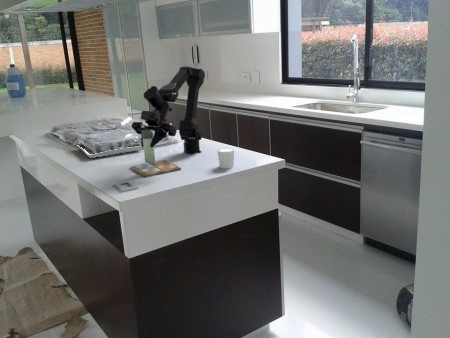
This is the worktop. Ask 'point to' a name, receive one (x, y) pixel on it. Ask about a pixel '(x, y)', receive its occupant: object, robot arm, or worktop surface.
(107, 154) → the square plate
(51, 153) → the worktop surface
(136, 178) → the worktop surface
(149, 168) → the picture board
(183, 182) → the worktop surface
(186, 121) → the robot arm
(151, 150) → the cylinder
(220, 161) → the white cup
